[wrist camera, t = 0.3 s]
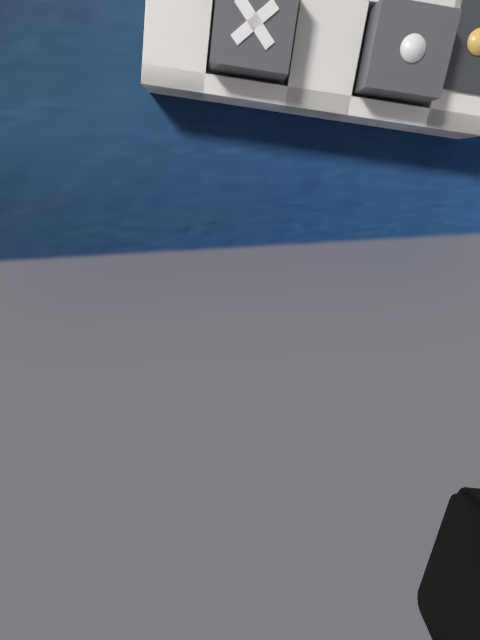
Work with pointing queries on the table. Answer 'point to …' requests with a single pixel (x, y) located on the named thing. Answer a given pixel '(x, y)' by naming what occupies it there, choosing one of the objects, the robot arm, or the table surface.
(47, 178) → the table surface
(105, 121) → the table surface
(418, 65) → the dot key
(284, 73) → the cross key
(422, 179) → the table surface
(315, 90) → the keypad
